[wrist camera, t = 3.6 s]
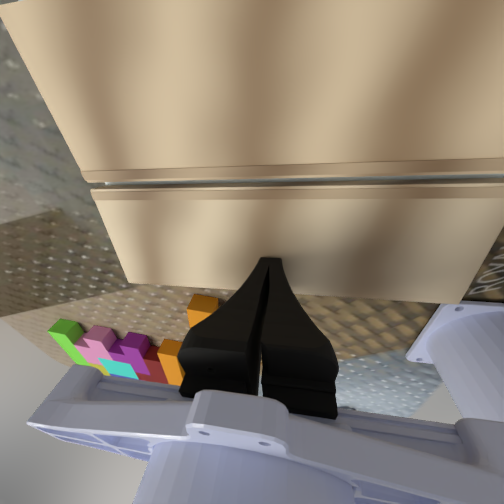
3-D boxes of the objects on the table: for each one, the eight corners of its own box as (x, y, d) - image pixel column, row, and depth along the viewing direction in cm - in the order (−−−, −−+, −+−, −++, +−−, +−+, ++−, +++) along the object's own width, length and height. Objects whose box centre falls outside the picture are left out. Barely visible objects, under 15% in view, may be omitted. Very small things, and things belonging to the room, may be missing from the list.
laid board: (677, -104, 6) (760, -147, 5) (510, 165, 10) (535, 173, 9) (25, 15, 9) (-8, 5, 8) (101, 176, 13) (86, 182, 12)
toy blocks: (235, 398, 34) (243, 297, 19) (232, 415, 33) (238, 318, 18) (106, 371, 36) (22, 259, 21) (96, 386, 34) (-4, 275, 19)
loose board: (503, 177, 10) (529, 183, 9) (445, 291, 13) (459, 305, 12) (105, 185, 14) (89, 189, 13) (138, 273, 17) (128, 283, 16)
